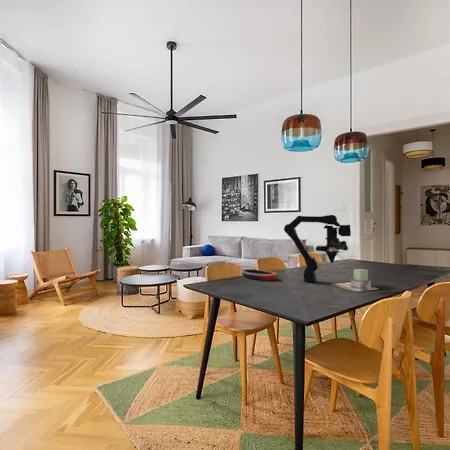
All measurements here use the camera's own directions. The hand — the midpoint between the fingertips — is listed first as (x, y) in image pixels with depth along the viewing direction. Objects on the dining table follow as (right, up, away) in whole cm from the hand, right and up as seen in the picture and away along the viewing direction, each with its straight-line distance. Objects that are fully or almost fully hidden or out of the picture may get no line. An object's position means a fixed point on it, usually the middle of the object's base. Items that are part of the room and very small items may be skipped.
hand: (331, 262), depth 186 cm
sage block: (+11, -8, -15) cm, 20 cm away
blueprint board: (+9, -13, -10) cm, 18 cm away
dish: (-40, -14, +24) cm, 49 cm away
